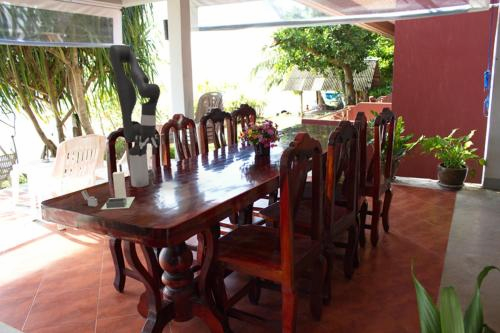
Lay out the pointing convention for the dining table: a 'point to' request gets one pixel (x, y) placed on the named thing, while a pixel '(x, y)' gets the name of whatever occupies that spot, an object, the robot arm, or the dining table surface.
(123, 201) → the board
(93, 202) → the lighter
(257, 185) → the dining table surface
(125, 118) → the robot arm
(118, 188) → the cream rectangular pillar
